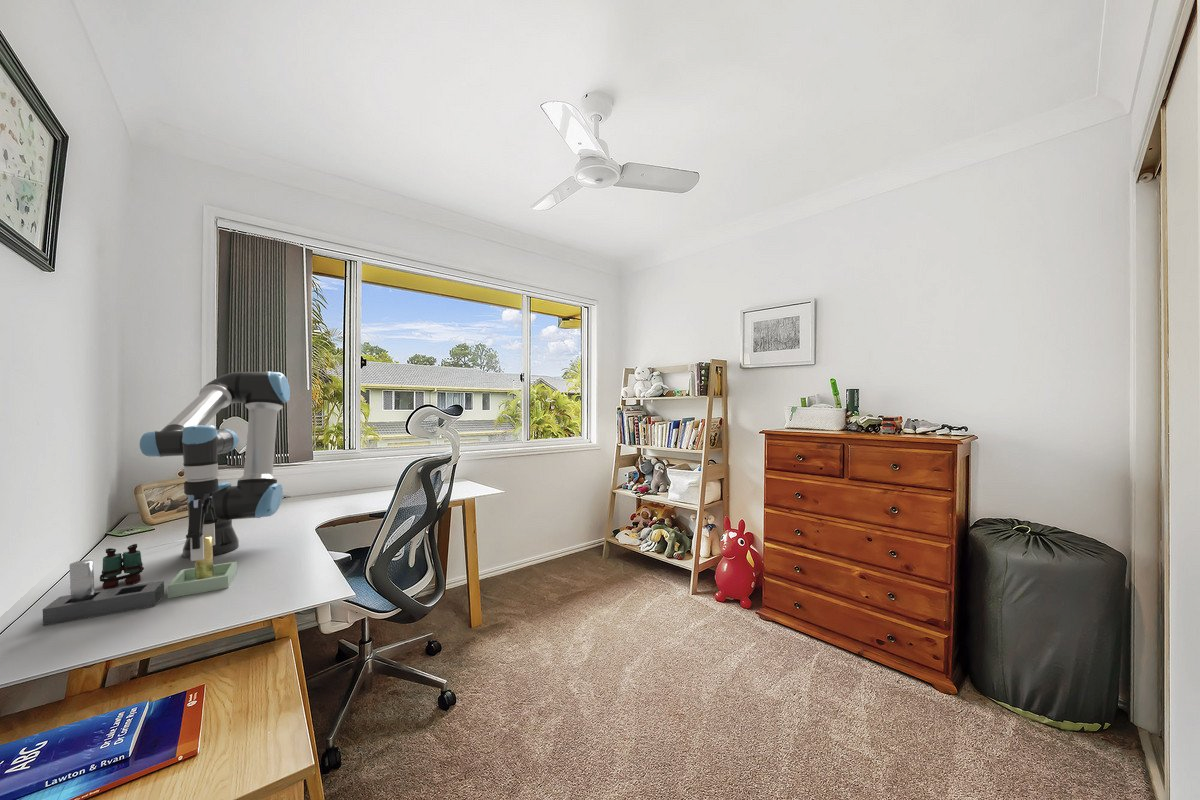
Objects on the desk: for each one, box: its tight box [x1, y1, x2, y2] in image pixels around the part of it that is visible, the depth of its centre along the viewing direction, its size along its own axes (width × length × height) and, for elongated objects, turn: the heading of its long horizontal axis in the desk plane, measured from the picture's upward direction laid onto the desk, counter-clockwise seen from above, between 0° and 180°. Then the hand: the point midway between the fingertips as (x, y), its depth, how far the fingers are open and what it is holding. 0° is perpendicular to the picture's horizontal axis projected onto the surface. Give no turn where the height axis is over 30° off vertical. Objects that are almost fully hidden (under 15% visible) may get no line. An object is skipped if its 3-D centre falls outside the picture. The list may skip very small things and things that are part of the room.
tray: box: [166, 561, 238, 599], centre depth 135 cm, size 13×13×3 cm
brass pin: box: [194, 536, 214, 580], centre depth 135 cm, size 4×4×13 cm
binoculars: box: [99, 543, 145, 590], centre depth 136 cm, size 9×11×10 cm
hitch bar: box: [42, 579, 166, 627], centre depth 120 cm, size 8×20×4 cm, turn 119°
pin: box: [69, 559, 95, 603], centre depth 118 cm, size 4×4×13 cm
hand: (203, 552), depth 135 cm, fingers open, 13 cm apart
